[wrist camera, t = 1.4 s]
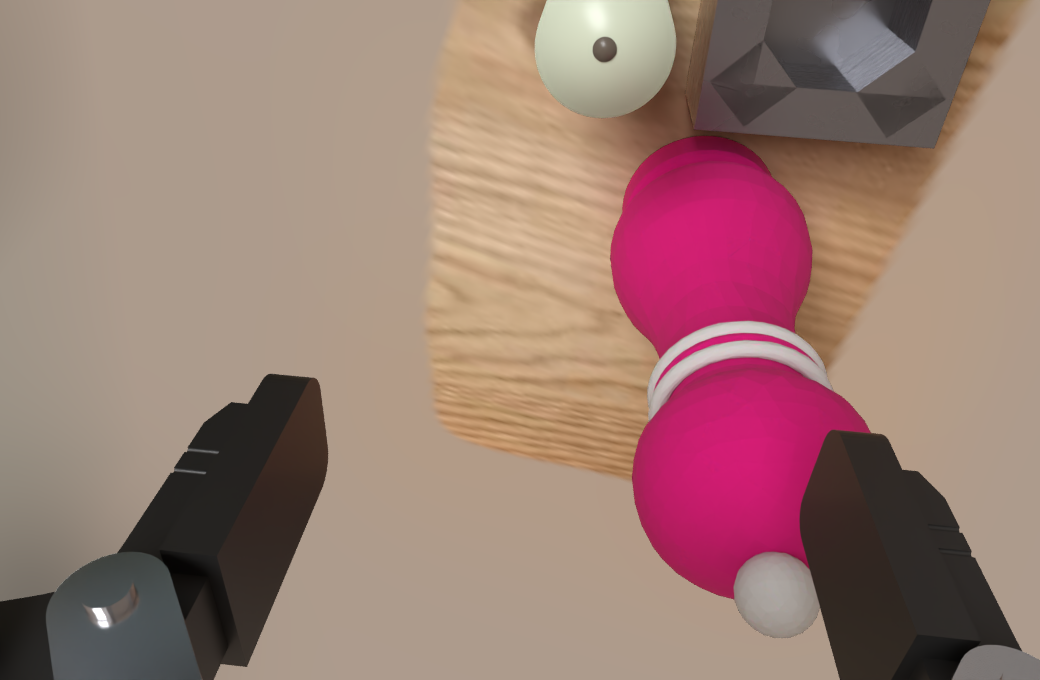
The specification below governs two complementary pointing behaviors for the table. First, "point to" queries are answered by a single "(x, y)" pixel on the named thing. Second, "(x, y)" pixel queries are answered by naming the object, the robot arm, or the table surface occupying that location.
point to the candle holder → (831, 67)
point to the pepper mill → (726, 375)
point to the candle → (605, 53)
